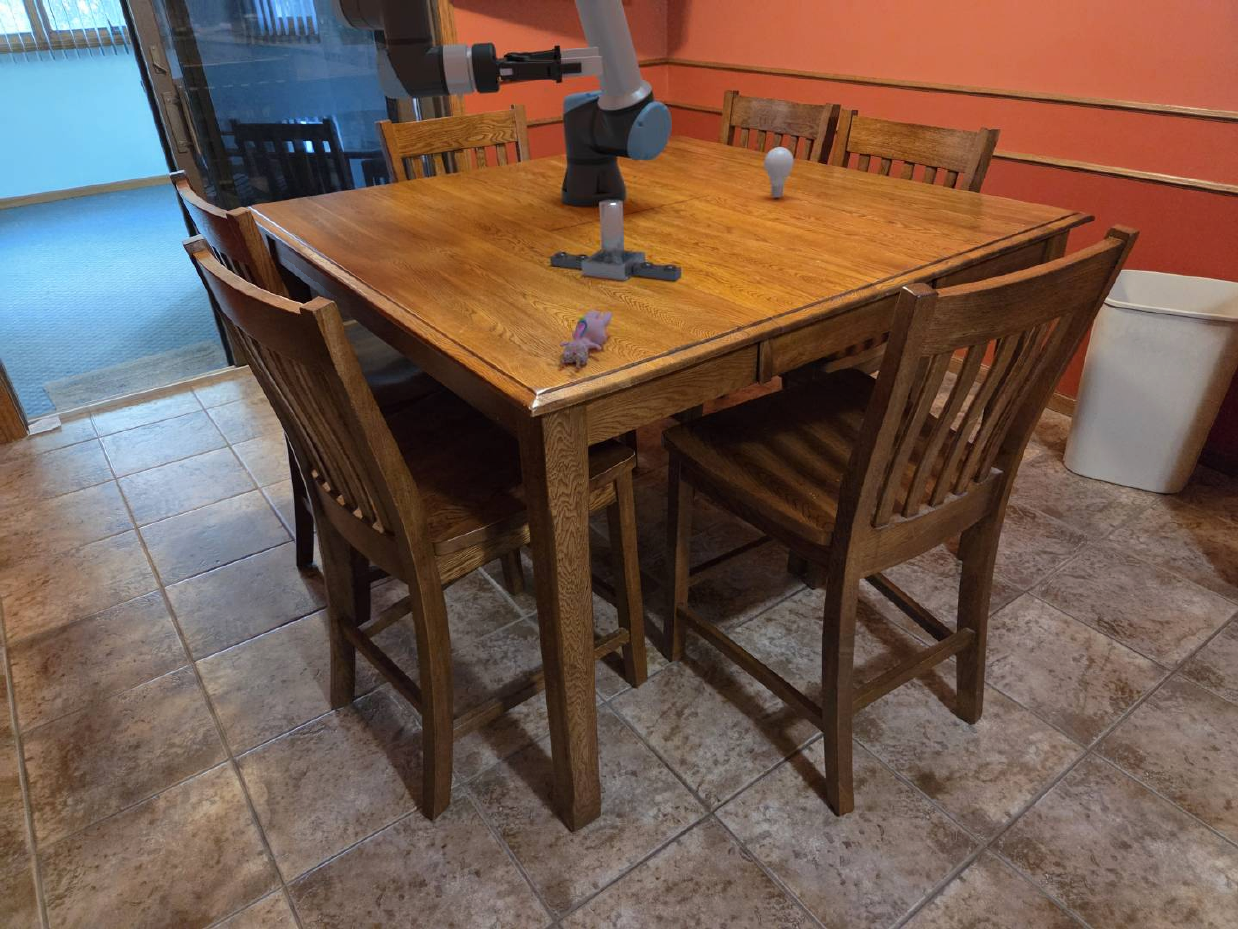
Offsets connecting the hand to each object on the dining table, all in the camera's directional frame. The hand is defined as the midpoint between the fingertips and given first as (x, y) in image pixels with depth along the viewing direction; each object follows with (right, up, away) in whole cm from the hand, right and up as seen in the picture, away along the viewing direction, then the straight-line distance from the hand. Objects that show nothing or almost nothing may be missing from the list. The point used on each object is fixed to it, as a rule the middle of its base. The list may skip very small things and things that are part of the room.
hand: (600, 60), depth 136 cm
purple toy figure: (-1, -51, -20) cm, 55 cm away
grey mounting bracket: (+2, -33, +9) cm, 34 cm away
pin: (+2, -33, +9) cm, 34 cm away
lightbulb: (+39, -7, +48) cm, 62 cm away
